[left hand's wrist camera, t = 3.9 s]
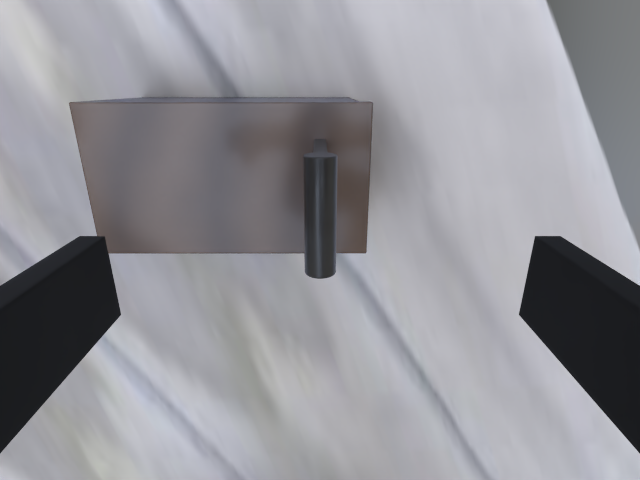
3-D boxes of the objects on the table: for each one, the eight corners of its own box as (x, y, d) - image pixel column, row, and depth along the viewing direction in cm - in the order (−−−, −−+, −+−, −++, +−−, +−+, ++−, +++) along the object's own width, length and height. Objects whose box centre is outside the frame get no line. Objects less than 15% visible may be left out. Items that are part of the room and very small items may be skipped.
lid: (371, 101, 24) (396, 109, 16) (364, 247, 27) (383, 314, 19) (77, 101, 24) (-43, 109, 16) (107, 248, 27) (21, 314, 19)
